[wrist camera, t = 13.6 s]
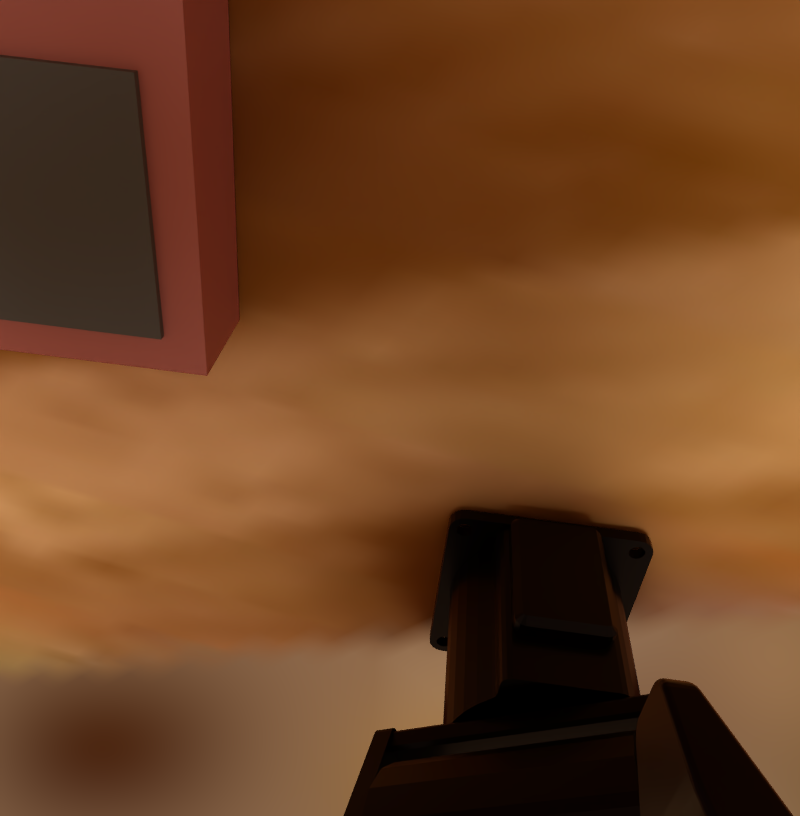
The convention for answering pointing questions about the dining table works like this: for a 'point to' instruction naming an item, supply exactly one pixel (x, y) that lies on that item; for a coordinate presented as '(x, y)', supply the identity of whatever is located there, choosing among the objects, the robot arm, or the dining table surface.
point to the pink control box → (117, 182)
